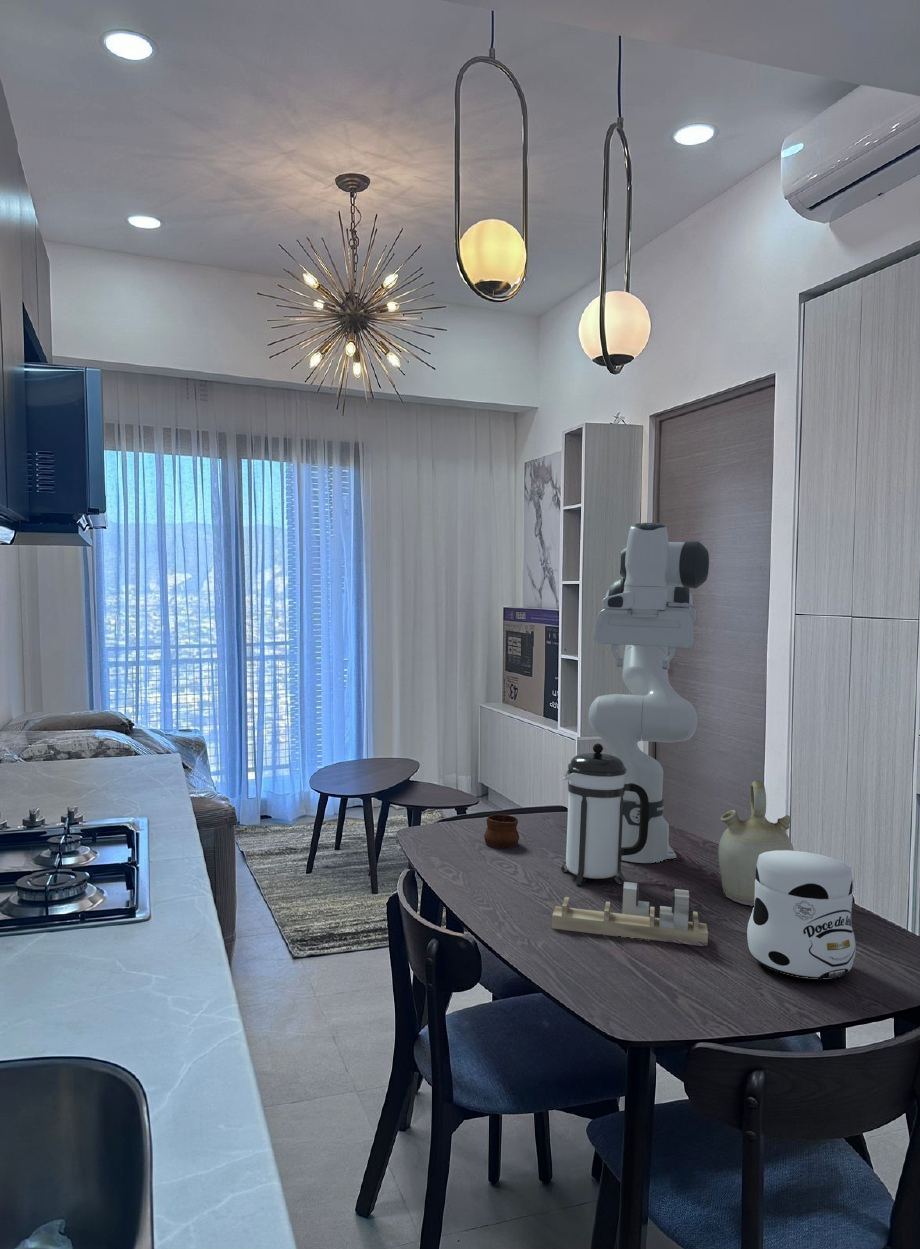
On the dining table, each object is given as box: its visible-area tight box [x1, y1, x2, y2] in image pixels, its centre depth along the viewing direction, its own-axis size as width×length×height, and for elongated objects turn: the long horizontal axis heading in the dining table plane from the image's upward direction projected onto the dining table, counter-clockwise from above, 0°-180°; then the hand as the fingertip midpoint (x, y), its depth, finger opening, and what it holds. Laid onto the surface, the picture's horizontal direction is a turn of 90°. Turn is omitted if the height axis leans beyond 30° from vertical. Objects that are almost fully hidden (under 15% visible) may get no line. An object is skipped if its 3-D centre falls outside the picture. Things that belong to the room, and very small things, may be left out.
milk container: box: [746, 850, 857, 979], centre depth 149 cm, size 17×17×18 cm
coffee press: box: [560, 743, 649, 887], centre depth 193 cm, size 17×16×30 cm
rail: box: [551, 888, 709, 944], centre depth 161 cm, size 5×28×8 cm, turn 77°
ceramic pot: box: [483, 813, 520, 849], centre depth 216 cm, size 18×18×7 cm
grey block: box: [621, 881, 650, 917], centre depth 170 cm, size 4×5×6 cm
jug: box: [717, 780, 795, 902], centre depth 183 cm, size 15×16×25 cm
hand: (642, 667), depth 180 cm, fingers open, 8 cm apart
